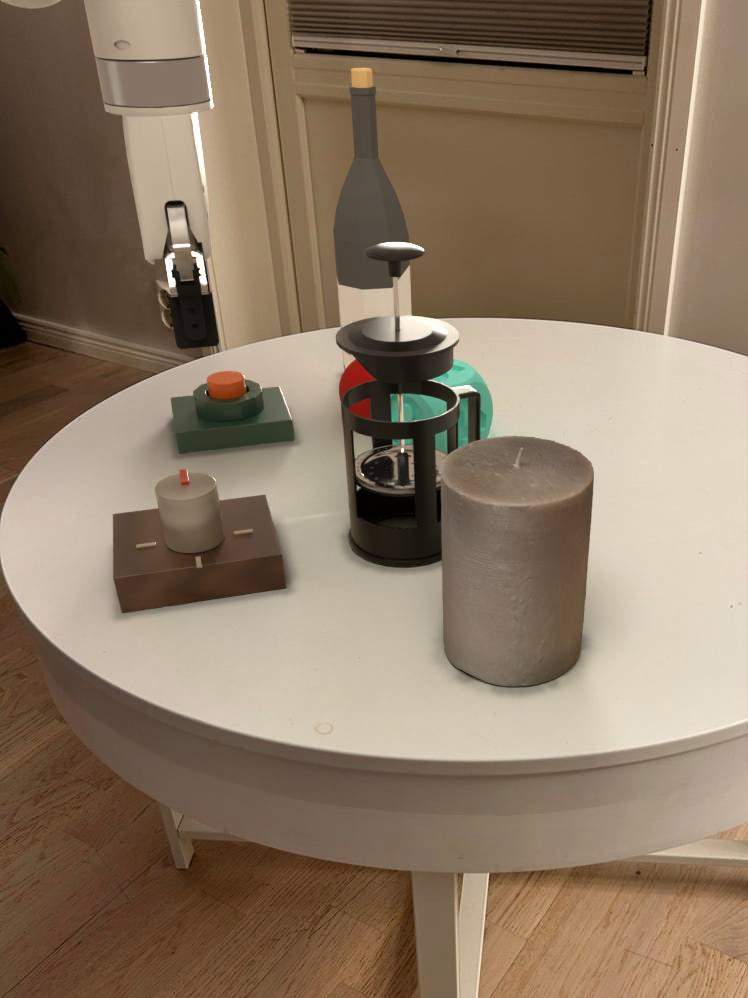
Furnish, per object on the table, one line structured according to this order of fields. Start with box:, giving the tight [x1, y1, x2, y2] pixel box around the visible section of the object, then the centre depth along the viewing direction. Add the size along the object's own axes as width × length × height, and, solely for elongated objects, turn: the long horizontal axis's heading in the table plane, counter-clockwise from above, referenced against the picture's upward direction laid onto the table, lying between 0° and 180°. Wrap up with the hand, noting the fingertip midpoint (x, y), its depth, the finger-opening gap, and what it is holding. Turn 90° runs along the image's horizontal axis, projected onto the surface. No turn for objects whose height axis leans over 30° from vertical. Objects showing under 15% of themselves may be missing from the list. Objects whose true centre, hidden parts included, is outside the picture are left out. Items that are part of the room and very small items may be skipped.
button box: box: [170, 379, 295, 455], centre depth 98 cm, size 11×9×4 cm
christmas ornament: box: [338, 359, 376, 419], centre depth 97 cm, size 7×7×10 cm
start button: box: [206, 370, 247, 399], centre depth 97 cm, size 4×4×2 cm
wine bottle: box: [332, 67, 413, 371], centre depth 102 cm, size 8×8×30 cm
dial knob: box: [154, 468, 225, 553], centre depth 74 cm, size 4×4×5 cm
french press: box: [335, 242, 481, 568], centre depth 75 cm, size 12×9×23 cm
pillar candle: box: [438, 435, 595, 687], centre depth 65 cm, size 10×10×15 cm
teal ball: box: [390, 358, 494, 453], centre depth 93 cm, size 8×8×8 cm
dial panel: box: [112, 494, 287, 613], centre depth 77 cm, size 12×10×3 cm
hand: (195, 326), depth 80 cm, fingers open, 9 cm apart
